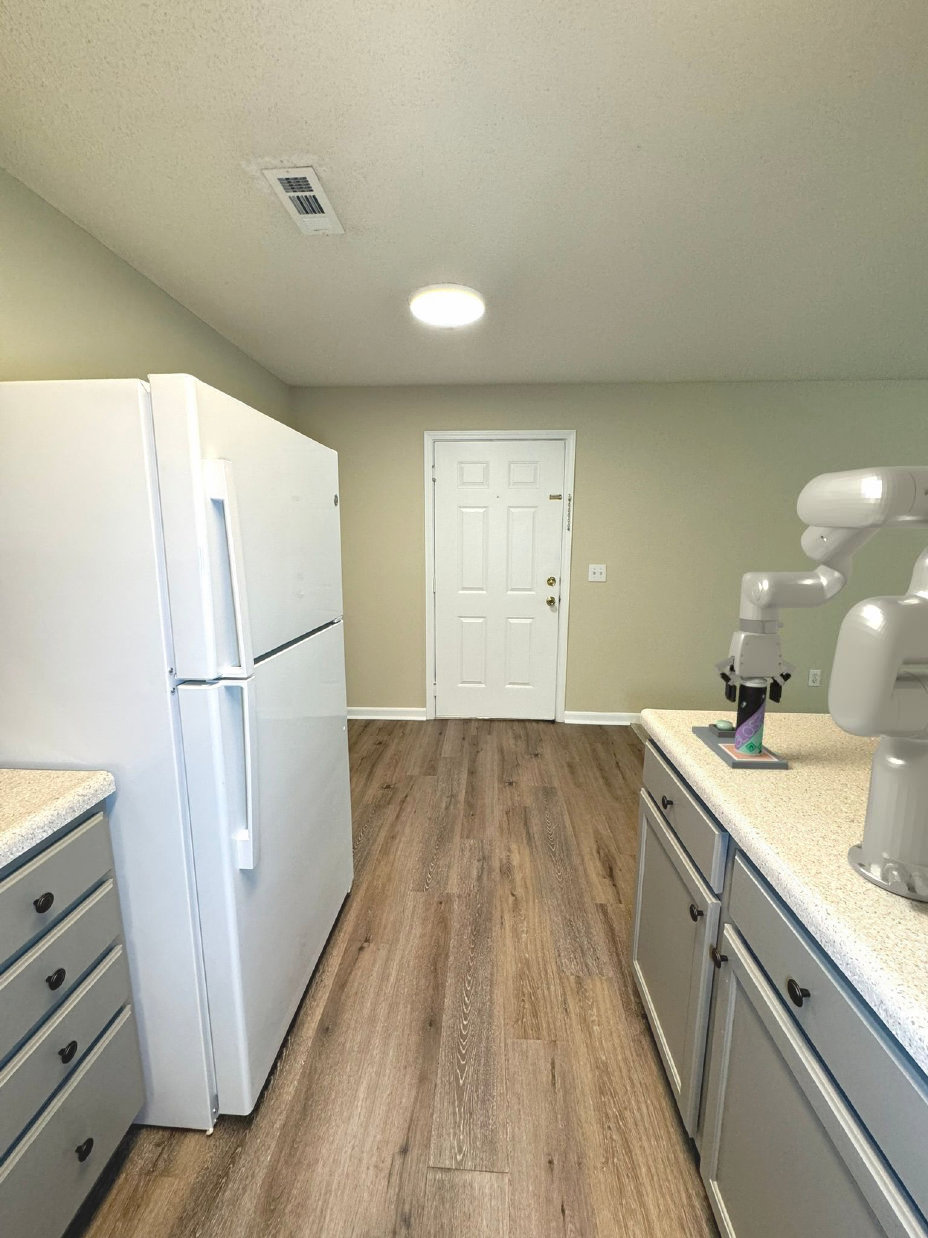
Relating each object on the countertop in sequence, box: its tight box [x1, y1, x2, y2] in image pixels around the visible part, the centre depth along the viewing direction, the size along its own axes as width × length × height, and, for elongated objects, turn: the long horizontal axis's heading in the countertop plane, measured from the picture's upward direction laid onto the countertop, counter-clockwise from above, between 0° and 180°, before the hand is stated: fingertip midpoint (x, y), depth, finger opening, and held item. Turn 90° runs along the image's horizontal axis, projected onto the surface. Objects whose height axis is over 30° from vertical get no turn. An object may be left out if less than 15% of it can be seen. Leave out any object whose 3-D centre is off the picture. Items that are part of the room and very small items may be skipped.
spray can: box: [734, 677, 768, 757], centre depth 113 cm, size 6×6×20 cm
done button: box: [716, 719, 734, 731], centre depth 126 cm, size 4×4×2 cm
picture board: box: [691, 723, 789, 770], centre depth 120 cm, size 22×12×3 cm, turn 177°
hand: (752, 700), depth 113 cm, fingers open, 9 cm apart
